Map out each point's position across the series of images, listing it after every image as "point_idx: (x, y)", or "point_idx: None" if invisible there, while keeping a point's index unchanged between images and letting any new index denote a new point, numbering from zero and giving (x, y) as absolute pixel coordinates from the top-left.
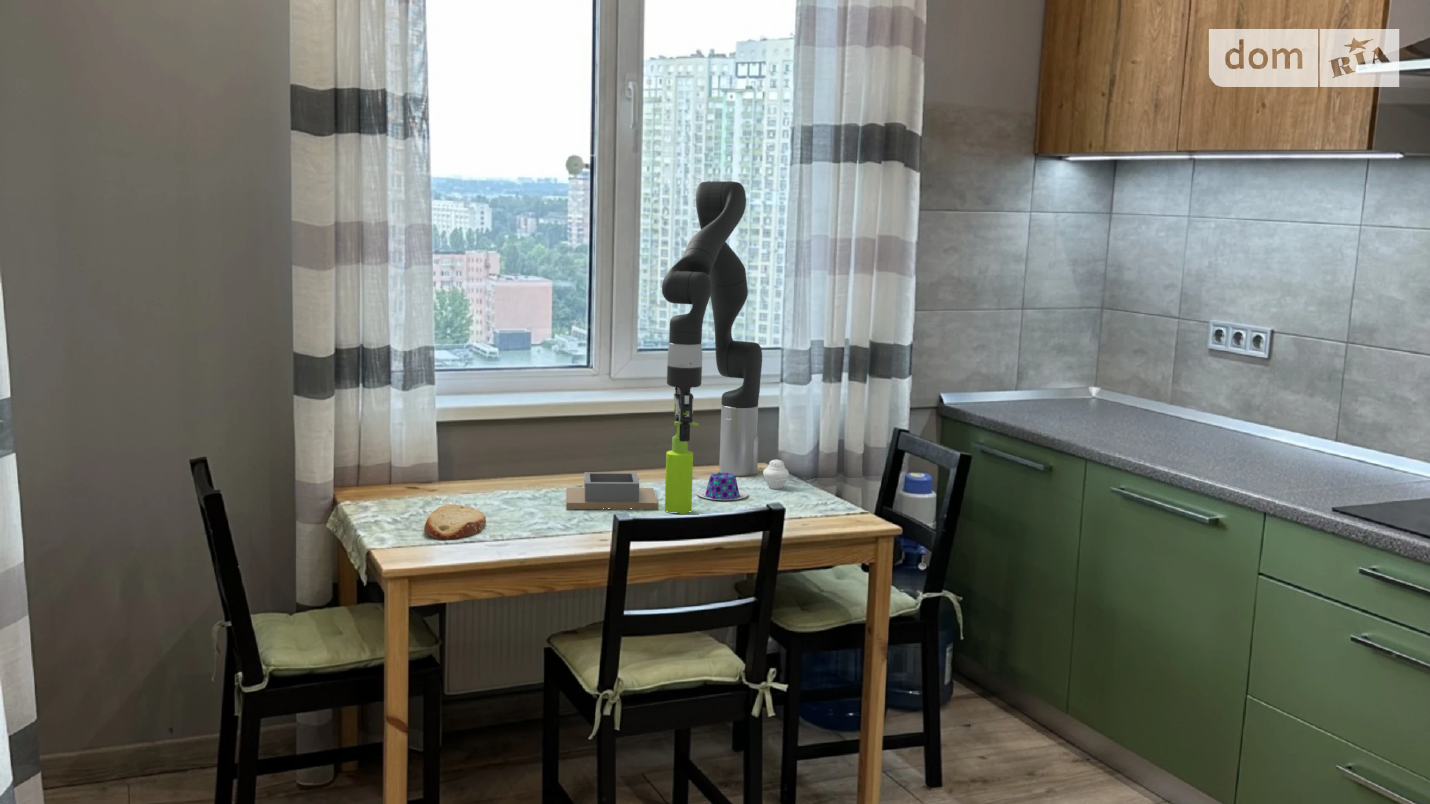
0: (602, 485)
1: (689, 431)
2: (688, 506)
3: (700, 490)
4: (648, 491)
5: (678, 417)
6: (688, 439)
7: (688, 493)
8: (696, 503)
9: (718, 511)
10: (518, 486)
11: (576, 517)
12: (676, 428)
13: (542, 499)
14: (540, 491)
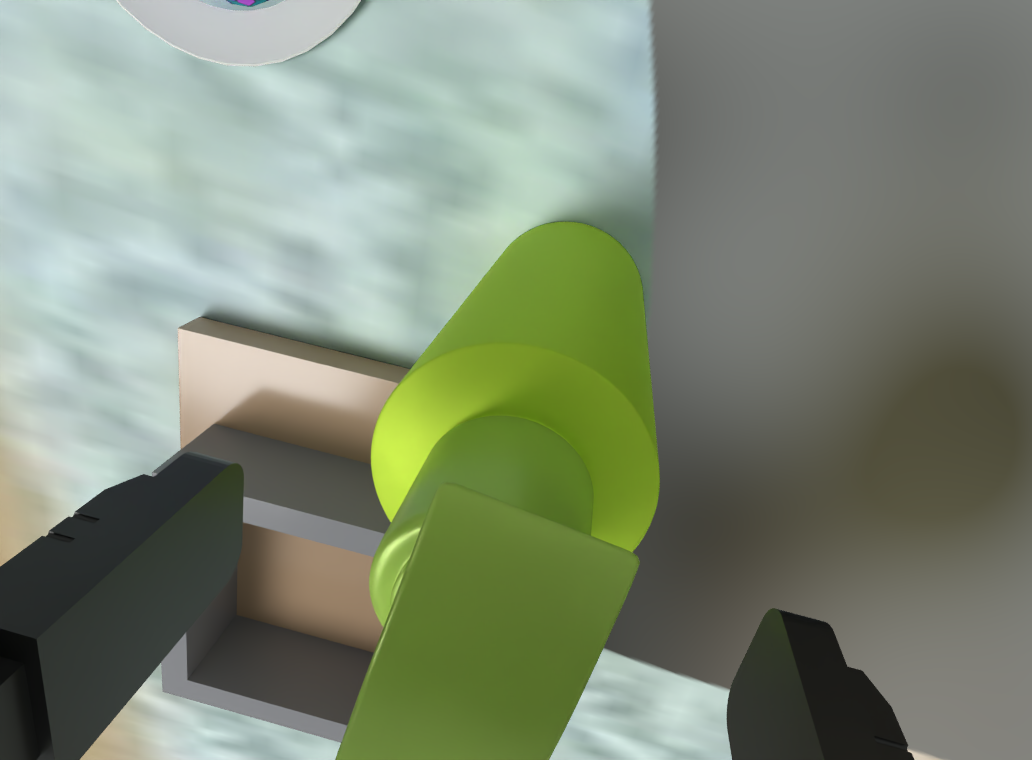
0: None
1: (875, 754)
2: (633, 269)
3: (128, 3)
4: (259, 378)
5: (35, 751)
6: (829, 644)
7: (636, 296)
8: (418, 132)
9: (643, 46)
10: (94, 745)
11: (573, 726)
12: (195, 619)
13: (283, 738)
14: (163, 710)
